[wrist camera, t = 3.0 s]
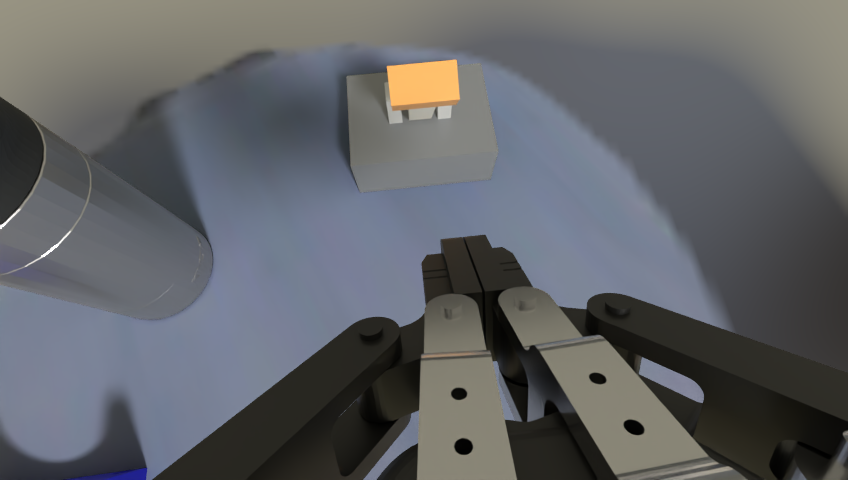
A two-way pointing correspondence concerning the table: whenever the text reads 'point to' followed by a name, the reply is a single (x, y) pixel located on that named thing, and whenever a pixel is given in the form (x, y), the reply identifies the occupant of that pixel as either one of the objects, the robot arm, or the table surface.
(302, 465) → the robot arm
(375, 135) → the block
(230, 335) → the table surface
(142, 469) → the cable clip
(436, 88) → the lever
